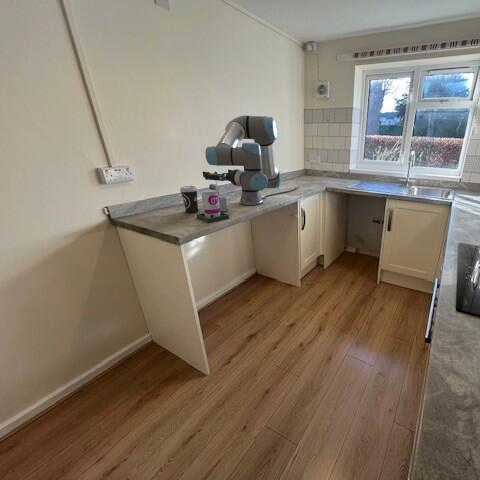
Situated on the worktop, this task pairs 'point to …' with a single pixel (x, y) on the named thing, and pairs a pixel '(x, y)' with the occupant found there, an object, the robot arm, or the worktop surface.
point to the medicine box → (222, 203)
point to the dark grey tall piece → (214, 186)
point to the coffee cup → (190, 198)
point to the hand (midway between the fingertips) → (216, 173)
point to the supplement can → (211, 203)
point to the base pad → (203, 218)
